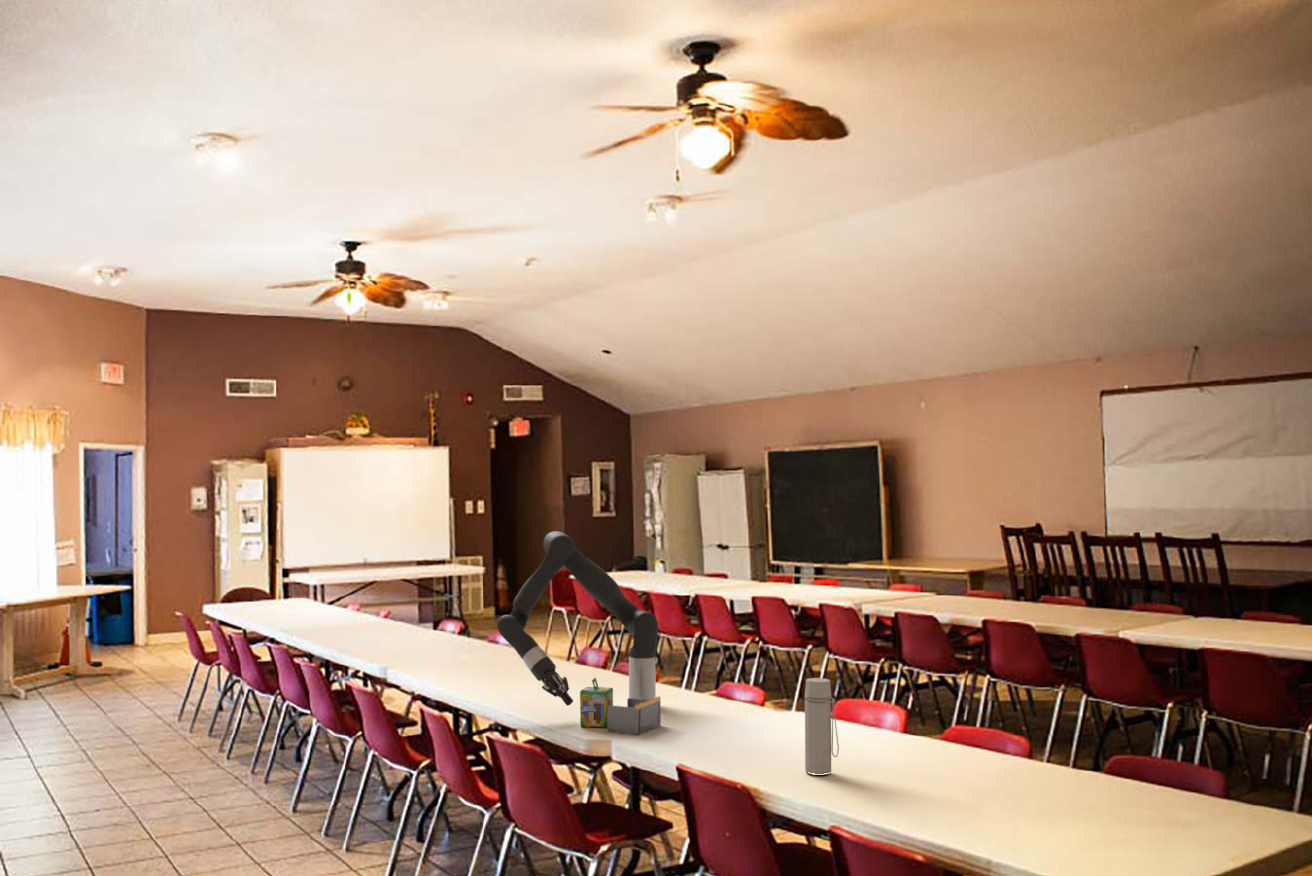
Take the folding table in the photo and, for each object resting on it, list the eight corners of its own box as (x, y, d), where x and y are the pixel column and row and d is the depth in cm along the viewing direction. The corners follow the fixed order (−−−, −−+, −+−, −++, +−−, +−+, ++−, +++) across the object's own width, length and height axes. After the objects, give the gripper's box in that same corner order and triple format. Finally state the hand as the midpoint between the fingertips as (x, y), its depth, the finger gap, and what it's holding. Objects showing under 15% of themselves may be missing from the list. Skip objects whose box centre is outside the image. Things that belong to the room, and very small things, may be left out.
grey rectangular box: (630, 722, 374) (630, 694, 375) (660, 725, 369) (660, 696, 370) (606, 732, 360) (606, 702, 360) (637, 735, 355) (637, 705, 355)
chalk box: (607, 728, 365) (607, 681, 366) (579, 727, 367) (579, 680, 368) (614, 722, 374) (614, 677, 375) (586, 721, 376) (587, 676, 377)
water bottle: (801, 776, 306) (801, 681, 307) (808, 769, 313) (807, 676, 314) (835, 779, 302) (835, 683, 303) (841, 772, 310) (841, 679, 311)
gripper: (535, 658, 374) (567, 699, 368) (556, 653, 386) (587, 693, 380) (521, 673, 376) (553, 714, 370) (542, 668, 388) (573, 707, 382)
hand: (570, 703), depth 375 cm, fingers closed
